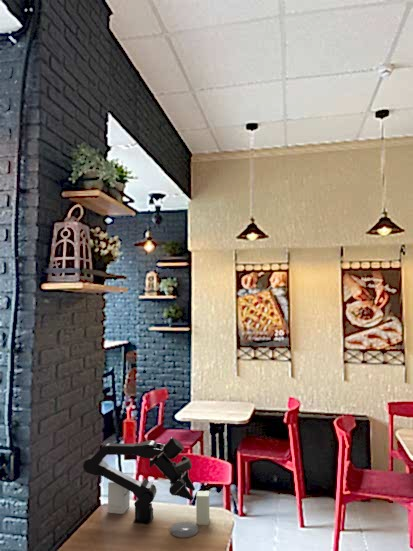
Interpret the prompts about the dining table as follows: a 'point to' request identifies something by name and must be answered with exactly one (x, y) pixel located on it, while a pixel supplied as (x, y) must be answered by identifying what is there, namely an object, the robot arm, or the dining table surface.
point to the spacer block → (202, 507)
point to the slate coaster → (184, 529)
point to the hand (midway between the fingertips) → (193, 494)
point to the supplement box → (117, 498)
